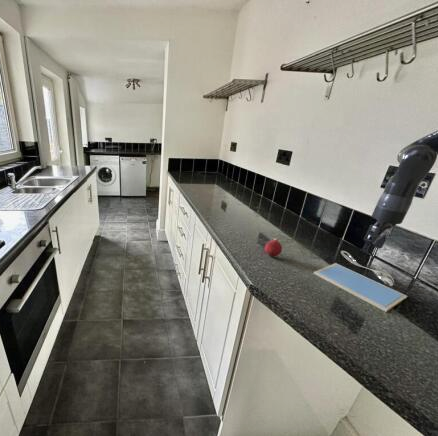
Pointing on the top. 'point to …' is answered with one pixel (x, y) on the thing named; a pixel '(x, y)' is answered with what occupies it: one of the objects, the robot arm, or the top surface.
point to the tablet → (361, 286)
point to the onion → (273, 248)
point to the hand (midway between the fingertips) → (371, 249)
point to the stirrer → (382, 275)
